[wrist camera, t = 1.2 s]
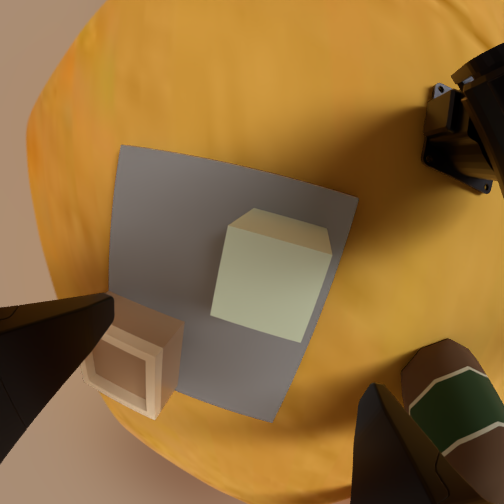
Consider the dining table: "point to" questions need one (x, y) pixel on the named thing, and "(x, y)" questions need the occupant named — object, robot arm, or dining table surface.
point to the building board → (197, 284)
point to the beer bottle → (458, 413)
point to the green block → (271, 273)
